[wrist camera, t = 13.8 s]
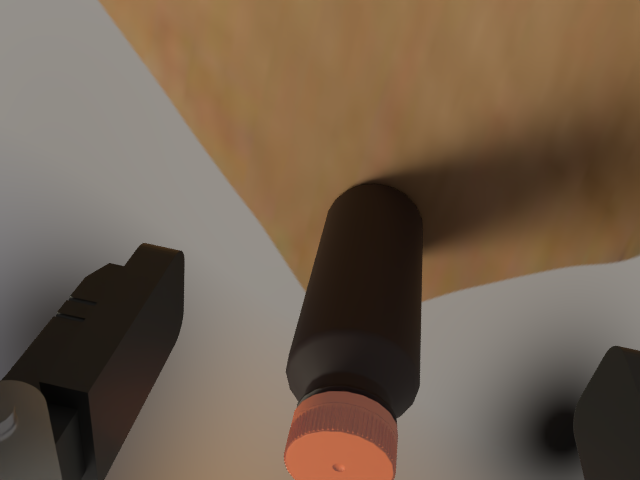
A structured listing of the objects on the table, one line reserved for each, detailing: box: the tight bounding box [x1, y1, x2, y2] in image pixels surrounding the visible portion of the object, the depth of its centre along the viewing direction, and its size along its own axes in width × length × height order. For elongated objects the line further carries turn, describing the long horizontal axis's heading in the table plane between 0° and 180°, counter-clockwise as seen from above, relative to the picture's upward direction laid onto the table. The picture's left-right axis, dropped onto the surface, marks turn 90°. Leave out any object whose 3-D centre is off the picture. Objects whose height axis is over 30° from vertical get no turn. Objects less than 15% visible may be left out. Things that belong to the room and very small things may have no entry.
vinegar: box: [284, 184, 423, 480], centre depth 34 cm, size 7×7×20 cm
